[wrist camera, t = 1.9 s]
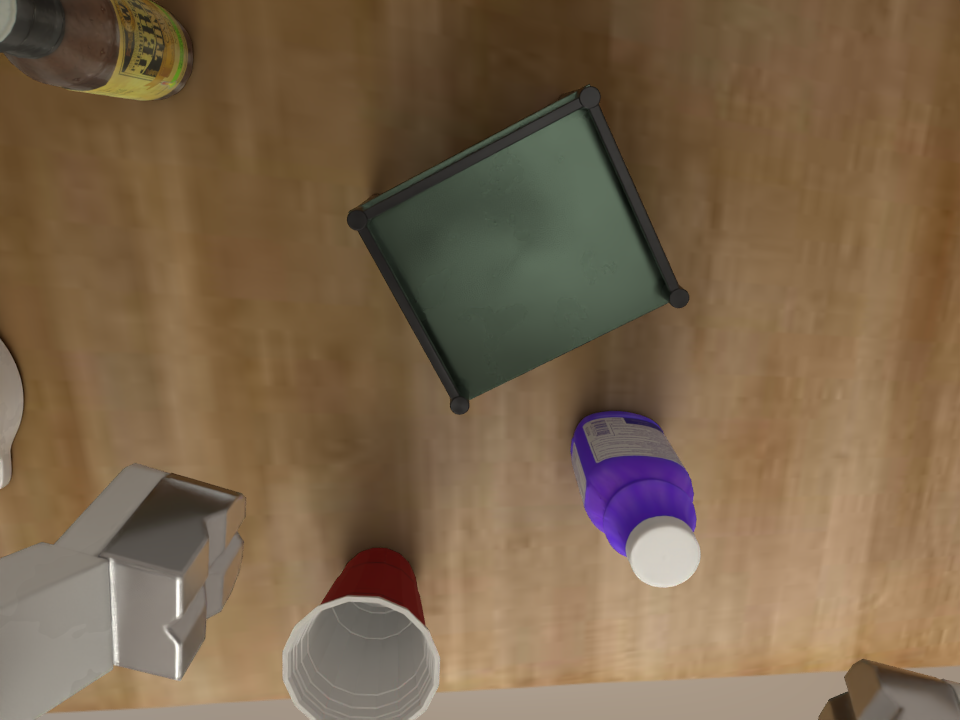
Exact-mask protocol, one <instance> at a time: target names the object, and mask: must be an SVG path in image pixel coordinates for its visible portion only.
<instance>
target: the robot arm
mask: <svg viewBox="0 0 960 720" xmlns="http://www.w3.org/2000/svg"><path fill="white" fill-rule="evenodd" d="M23 402H24V401H23V388H22V382H21V378H20V375H19V372H18V369H17V366H16V364H15V362H14V360H13V358H12V356H11V354H10V352H9V351H8V349H7V347H6V346H5V344H4V343H3V342H2V340H1V339H0V489H1V488H3V487H5V486H6V485H7V484H8V483H9V482H10V479H11V473H12V466H11V453H10V450H11V445H12V442H13V440H14V437H15V435H16V433H17V430H18V428H19V425H20V422H21V418H22V413H23ZM245 517H246V497H245V496H244V495H243V494H242V493H239V492H235V491H232V490H229V489H225V488H222V487H218V486H215V485H211V484H208V483H205V482H201V481H198V480H194V479H191V478H188V477H184V476H181V475H177V474H174V473H171V474H170V473H167V472H164V471H160V470H157V469H154V468H151V467H147V466H144V465H141V464H137V463H134V464H132V465H130V466H127V467H125V468H124V469H123V470H122V471H121V472H120V473H119V474H118V475H117V476H116V477H115V478H114V479H113V481H112V482H111V483H110V484H109V485H108V486H107V487H106V488H105V489H104V490H103V491H102V493H101V494H100V495H99V496H98V497H97V498H96V499H95V500H94V501H93V502H92V503H91V504H90V506H89V507H88V508H87V509H86V510H85V511H84V512H83V513H82V514H81V515H80V516H79V518H78V519H77V520H76V521H75V522H74V523H73V524H72V525H71V526H70V527H69V528H68V529H67V531H66V532H65V533H64V534H63V535H62V536H61V537H60V538H59V539H58V540H57V541H56V543H55V544H54V545H52V544H48V543H44V542H41V543H38V544H36V545H33V546H30V547H28V548H25V549H23V550H20V551H18V552H15V553H13V554H10V555H7V556H5V557H2V558H0V720H36V719H37V718H38V717H40V716H41V715H43V714H45V713H46V712H48V711H49V710H51V709H53V708H54V707H56V706H57V705H59V704H60V703H62V702H63V701H65V700H66V699H68V698H69V697H71V696H73V695H74V694H76V693H77V692H79V691H80V690H82V689H83V688H85V687H86V686H88V685H89V684H91V683H93V682H94V681H96V680H97V679H99V678H100V677H102V676H103V675H105V674H106V673H108V672H109V671H111V670H112V669H113V665H116V666H121V667H125V668H129V669H133V670H137V671H141V672H145V673H149V674H153V675H157V676H161V677H166V678H170V679H174V680H178V681H181V679H182V677H183V676H184V674H185V672H186V670H187V669H188V667H189V665H190V664H191V662H192V660H193V659H194V657H195V655H196V653H197V652H198V650H199V648H200V647H201V645H202V643H203V642H204V640H205V634H206V619H207V618H209V617H211V616H213V615H215V614H217V613H219V612H221V610H222V609H223V607H224V605H225V603H226V601H227V600H228V598H229V596H230V594H231V592H232V589H233V587H234V584H235V582H236V579H237V576H238V574H239V571H240V566H241V562H242V557H243V547H244V541H243V540H242V538H241V537H240V535H239V534H238V532H237V530H238V528H239V527H240V525H241V524H242V522H243V520H244V519H245ZM844 678H845V681H846V685H847V688H848V692H845V693H843V694H840V695H838V696H836V697H833V698H831V699H829V700H828V702H827V704H826V705H825V707H824V709H823V710H822V712H821V714H820V715H819V718H818V720H960V683H956V682H953V681H949V680H944V679H938V678H936V677H932V676H928V675H924V674H920V673H916V672H913V671H909V670H905V669H901V668H897V667H893V666H889V665H885V664H881V663H878V662H874V661H870V660H866V659H862V660H860V661H858V662H856V663H855V664H853V665H852V667H851V668H850V669H849V671H848V672H847V674H846V675H845V677H844Z"/></svg>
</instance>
